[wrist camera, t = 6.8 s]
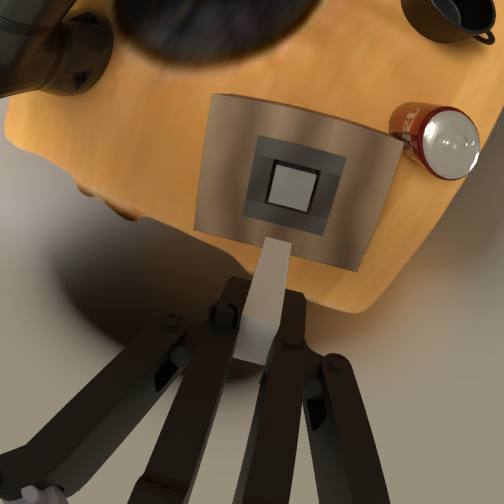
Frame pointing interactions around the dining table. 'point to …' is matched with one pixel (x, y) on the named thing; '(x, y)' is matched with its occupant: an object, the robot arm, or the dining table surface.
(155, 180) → the dining table surface
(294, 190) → the peg
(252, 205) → the socket block
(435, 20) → the mug
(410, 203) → the dining table surface
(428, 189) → the dining table surface
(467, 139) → the soda can
